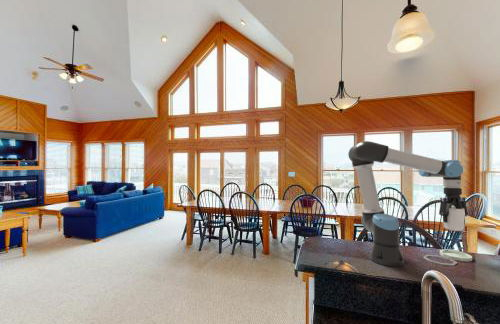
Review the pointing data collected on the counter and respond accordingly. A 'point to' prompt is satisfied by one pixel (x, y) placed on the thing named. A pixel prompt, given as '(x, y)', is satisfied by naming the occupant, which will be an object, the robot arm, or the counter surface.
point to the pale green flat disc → (456, 255)
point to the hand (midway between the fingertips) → (454, 228)
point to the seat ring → (439, 262)
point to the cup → (456, 218)
